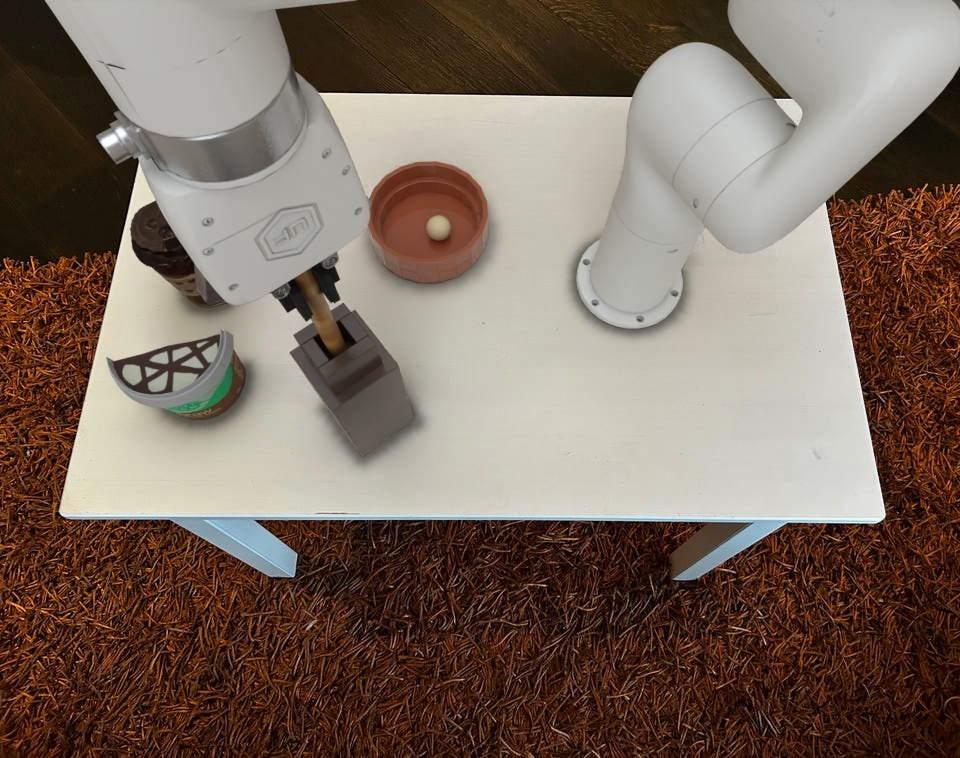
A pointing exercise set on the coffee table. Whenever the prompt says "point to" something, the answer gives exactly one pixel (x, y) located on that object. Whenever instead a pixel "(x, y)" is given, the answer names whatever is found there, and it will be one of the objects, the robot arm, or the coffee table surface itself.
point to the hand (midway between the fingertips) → (312, 295)
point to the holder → (356, 381)
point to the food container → (184, 377)
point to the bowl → (407, 210)
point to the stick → (321, 313)
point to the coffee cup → (164, 251)
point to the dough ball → (438, 227)
